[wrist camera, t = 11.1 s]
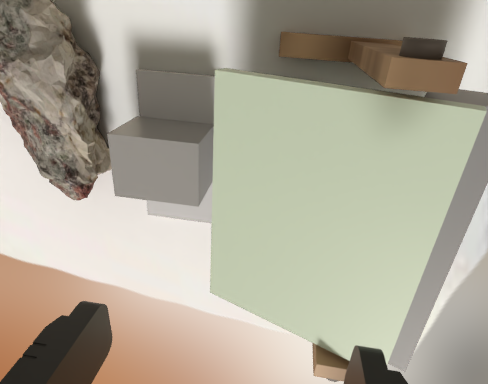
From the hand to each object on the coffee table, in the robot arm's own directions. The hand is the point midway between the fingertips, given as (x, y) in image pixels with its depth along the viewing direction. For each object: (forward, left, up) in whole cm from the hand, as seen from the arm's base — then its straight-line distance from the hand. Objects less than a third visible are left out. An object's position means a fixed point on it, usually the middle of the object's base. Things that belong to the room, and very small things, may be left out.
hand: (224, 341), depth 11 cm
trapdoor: (+5, 0, -11) cm, 12 cm away
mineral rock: (-16, +3, -17) cm, 24 cm away
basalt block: (-4, 0, -14) cm, 15 cm away
